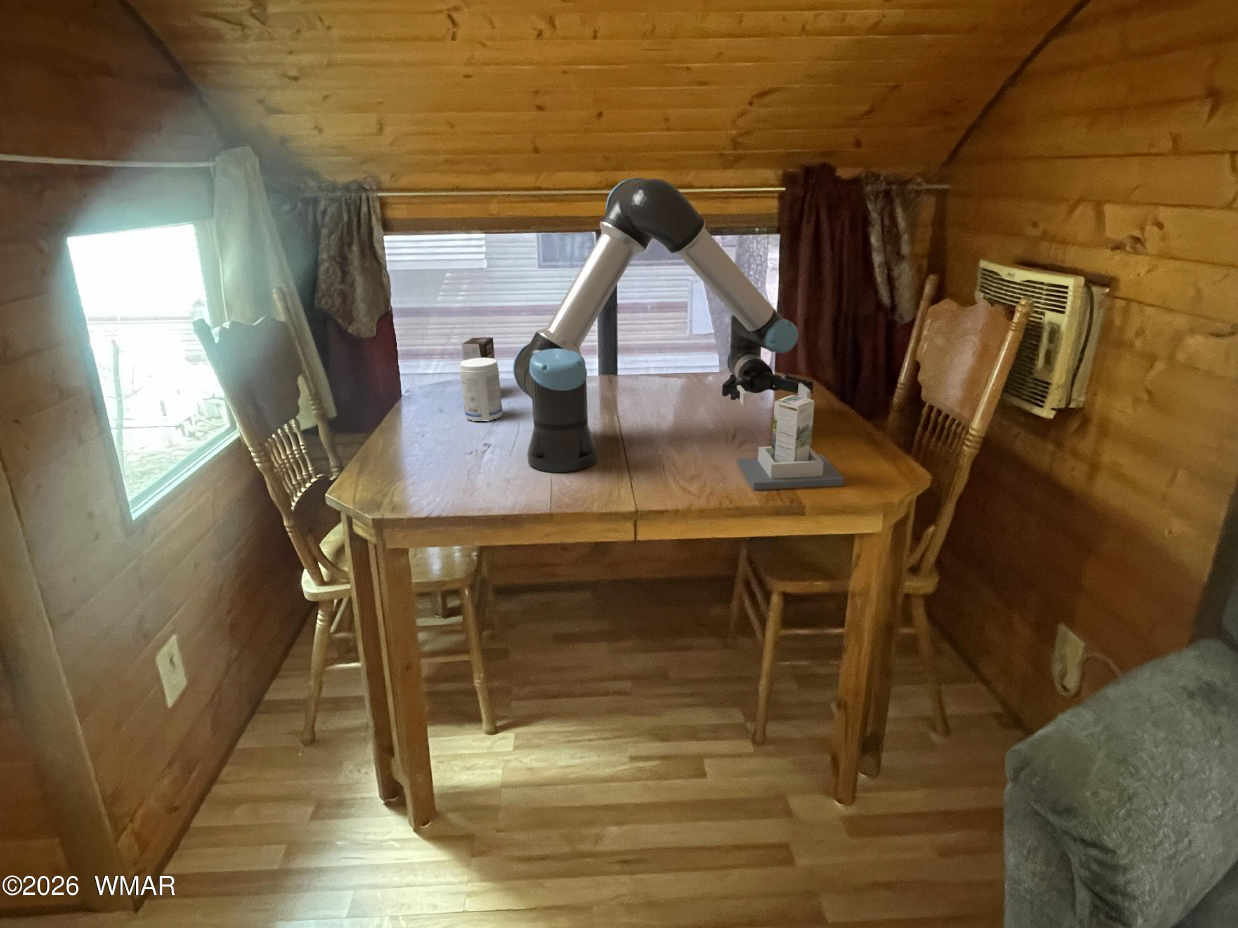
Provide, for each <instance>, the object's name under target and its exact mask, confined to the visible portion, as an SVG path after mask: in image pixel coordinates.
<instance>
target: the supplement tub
mask: <svg viewBox="0 0 1238 928" xmlns="http://www.w3.org/2000/svg"><path fill="white" fill-rule="evenodd" d="M459 367H460V368H459V371H460V380H461V390H462V399H463V401H462V402H463V407H464V408H463V409H464V417H465V418H466V419H467V420H468V419H469V420H468V421H470V420H474V421H483V420H492V421H494V420H493V419H496V420H498V419H499V417H500V418H501V417H502V415H503V405H502V404H503V403H502V394H501V383H500V372H499V365H498V361H497V360H496V359H492V358H474V359H468V360H465V361H463V360H462V361H461V362H460V363H459ZM497 418H498V419H497ZM474 421H473V422H474Z"/></svg>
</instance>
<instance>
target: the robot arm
mask: <svg viewBox="0 0 1238 928" xmlns="http://www.w3.org/2000/svg"><path fill="white" fill-rule="evenodd" d="M605 209H606V211H605V213H604V214H603V216H602V218H601V220H600V222H599V227H600V231H601V233H600V235H599V237H598V239H597V240H596V242H595V244H594V246H593V247H592V249H591V250H590V252H589V254H588V256H587V257H586V260H585V261H584V263H583V265H582V266H581V267H580V270H579V271H578V273H577V275H576V277H575V278H574V280H573V282H572V283H571V285H570V286H569V289H568V290H567V292H566V294H565V296H563V299H562V301H561V302H560V304H559V306H558V307H557V309H556V311H555V313H554V314H553V316H552V318H551V319H550V321H549V322H548V325H547V326H546V327H545V328H542V329H537V330H536V332H535V333H534V335H533V337H532V338H531V340H530V342H529V343H527V344H525V345H523V347H521V348H520V349H519V350H518V352H517V353H516V354H515V356H514V360H513V363H512V371H513V372H512V374H513V377H514V380H515V382H516V384H517V386H518V387H519V389H520V390H521V391H522V392H523V393H524V394H526V395H527V396H528V397H529V398H530V399H531V404H532V419H533V431H532V434H531V437H530V438H531V439H530V441H529V445H528V450H527V463H528V465H529V466H530V467H531V466H532V468H533V469H535V468H536V470H539V471H542V472H548V473H549V472H550V473H565V472H566V473H567V472H568V471H569V472H575V471H580V470H584V469H587V468H589V467H592V466H593V465H594V464H596V463H597V461H598V449H597V446H596V443H595V441H594V440H595V439H594V438H593V435H592V432H591V430H590V427H589V418H588V413H589V411H588V391H587V390H588V388H587V385H588V384H587V376H588V370H587V367H586V361H585V358H584V357H583V356H582V353H581V346H582V344H583V342H584V341H585V339H586V337H587V336H588V335H589V332H590V331H591V328H592V327H593V326H594V324H595V322H596V320H597V319H598V317H599V315H600V314H601V312H602V310H603V308H604V306H606V303H607V301H608V300H609V299H610V296H612V293H613V292H614V290H615V288H616V286H617V284H618V283H619V281H620V280H621V278H622V276H623V275H624V273H625V271H626V270H627V268H628V266H629V264H630V262H631V261H632V259H633V258H634V256H635V255H636V254H641V253H643V252H645V251H646V250H647V247H648V246H649V244H650V242H651V241H652V239H653V240H656V241H658V243H660V244H662V245H663V246H664V247H665V248H666V249H667V250H668V251H669V252H670V254H672V255H673V254H674V255H675V254H676V255H679V256H680V257H681V259H683V261H684V262H685V263H686V264H687V266H689V267H690V268H691V269H692V271H693V272H694V273H695V274H696V275H697V276H698V277H699V278H700V279H701V281H702V282H703V283H704V284H705V285H706V286H707V287H708V288H709V289H710V290H711V292H712V293H713V294H714V295H715V296H716V297H717V298H718V299H719V301H720V302H721V303H723V305H724V306H725V307H726V308H727V309H728V310H729V311H730V312H731V314H730V344H729V353H728V354H727V357H726V365H727V368H728V370H729V372H730V373H731V374H730V375H729V378H728V379H727V380H725V382H724V383H722V385H721V386H722V387H721V389H722V390H721V395H722V397H728V396H729V395H730V401H736V399H737V400H738V401H739V403H740V404H741V405H742V406H743V407H744V406H745V407H746V406H747V399H748V393H751V394H761V393H763V392H766V391H769V390H771V391H774V392H776V391H784V392H789V393H792V394H797V396H801V397H805V398H808V399H811V396H812V394H813V393H814V381H812V380H808V379H807V378H805V379H804V378H800V377H797V376H795V375H792V374H790V373H787V372H785V373H783V375H782V376H781V375H779V374H774V372H773V370H772V368H771V367H770V366H769V365H768V364H767V363H766V361H764V360H763V359H762V358H761V353H762V349H764V350H768V351H769V352H770V353H771V352H772V353H778V354H785V353H788V352H790V351H791V350H792V349H793V348H794V347H795V345H796V343H797V342H798V337H799V331H798V328H797V326H796V325H795V323H793V321H792V322H791V321H790V320H788V319H786V318H783V317H782V316H781V315H780V314H779V313H778V311H777V310H776V309H775V308H774V307H773V306H772V305H771V303H770V302H768V300H767V299H766V298H765V296H763V294H762V293H761V292H760V291H759V290H758V289H757V287H756V286H755V285H754V284H753V283H752V282H751V280H750V279H749V278H748V277H747V276H746V274H745V273H744V272H743V271H742V270H741V269H740V267H739V266H738V265H737V264H736V263H735V262H734V260H733V259H732V258H731V257H730V256H729V254H728V253H727V252H726V251H725V250H724V249H723V248H722V246H720V244H719V243H718V242H717V241H716V239H715V238H714V237H713V236H712V234H710V232H709V231H708V230H707V229H706V221H705V219H704V218H703V216H701V214H700V213H699V212H698V211H697V209H696V208H695V207H694V206H693V204H691V203H690V201H689V200H688V199H687V198H686V197H685V196H684V194H682V192H681V191H680V190H679V189H678V188H677V187H676V186H675V185H673V184H671V183H670V182H668V181H666V180H665V179H664V180H663V179H661V178H643V177H632V178H629V179H626V180H623V181H621V182H619V183H618V184H617V185H615V186H614V187H613V188H612V189H611V191H610V193H609V194H608V196H607V199H606V204H605ZM569 472H568V473H569Z"/></svg>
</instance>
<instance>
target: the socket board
mask: <svg viewBox="0 0 1238 928" xmlns="http://www.w3.org/2000/svg"><path fill="white" fill-rule="evenodd" d="M771 451H772V445H771V446H770V445H769V446H758V451H757V452H758V454H757V457H740V458H739V457H738V459H737V460H738V461H737V466H738V467H739V469H740V470H741V472H742V474H743V475H744V477H745V479H746V480H747V482H748V484H749V485H750V487H751V488H752V490H753V491H763V490H765V491H766V490H781V489H782V490H783V489H802V488H821V487H840V486H841V487H842V486H843V485H844V486H845V477H844V476H842V474H841V473H840V472H839V471H838V470H837V469H836V468H835V467H834V466H833V465H832V464H831V462H830V461H828V460H827V458H826V457H825V456H824V455H823V454H820V453H819V454H818V453H817V452H815V451H814V450H813V448H811V450H810V461H795V462H774V460H773V459H772V458H771Z"/></svg>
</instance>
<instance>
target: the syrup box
mask: <svg viewBox="0 0 1238 928" xmlns="http://www.w3.org/2000/svg"><path fill="white" fill-rule="evenodd" d="M773 406H774V409H773V422H772V423H773V424H772V439H771V446H772V451H771V458H772V459H773V460H774V462H795V461H810V450H811V449H812V448H811V447H812V437H813V425H814V414H815V413H814V411H815V400H813V399H811V398H810V399H808V398H805V397H801V396H798V395H794V394H791V395H788V396H785V397H783V398H780V399H777V400H775V401H774V405H773Z"/></svg>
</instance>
